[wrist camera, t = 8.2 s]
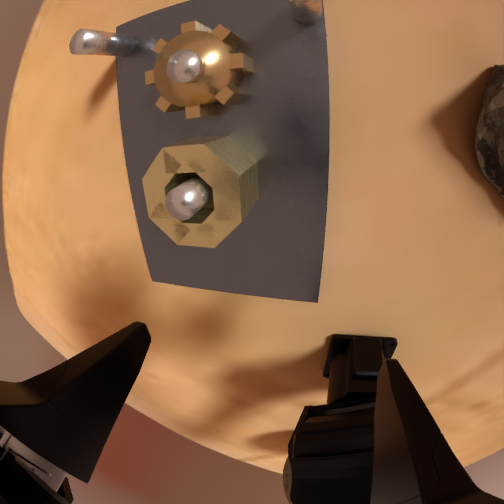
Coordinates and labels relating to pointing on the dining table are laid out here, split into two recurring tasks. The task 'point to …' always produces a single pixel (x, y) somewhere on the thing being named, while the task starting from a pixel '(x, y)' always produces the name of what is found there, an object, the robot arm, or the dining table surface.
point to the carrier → (230, 133)
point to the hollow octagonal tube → (213, 173)
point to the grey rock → (492, 131)
